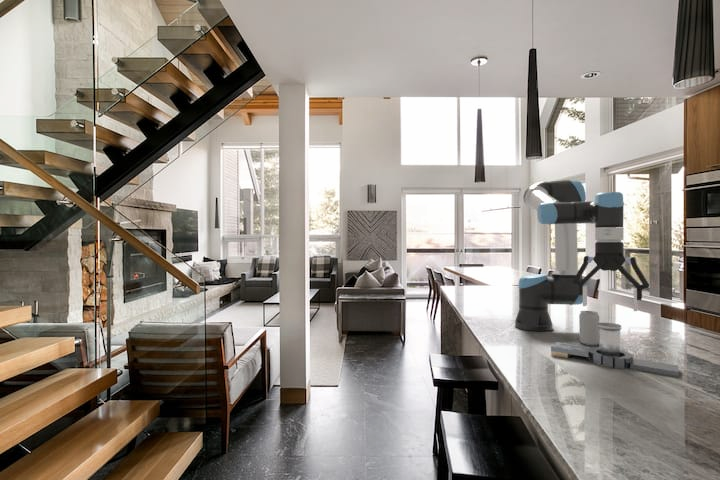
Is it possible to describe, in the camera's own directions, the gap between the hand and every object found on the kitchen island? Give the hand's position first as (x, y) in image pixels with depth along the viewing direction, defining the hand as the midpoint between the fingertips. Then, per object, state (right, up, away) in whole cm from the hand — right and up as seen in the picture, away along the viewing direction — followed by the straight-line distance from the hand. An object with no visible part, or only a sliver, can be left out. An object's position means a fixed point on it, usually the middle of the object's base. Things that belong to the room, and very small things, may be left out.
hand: (609, 308), depth 121 cm
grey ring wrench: (0, -17, 0) cm, 17 cm away
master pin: (0, -17, 0) cm, 17 cm away
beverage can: (+6, -17, +21) cm, 28 cm away
